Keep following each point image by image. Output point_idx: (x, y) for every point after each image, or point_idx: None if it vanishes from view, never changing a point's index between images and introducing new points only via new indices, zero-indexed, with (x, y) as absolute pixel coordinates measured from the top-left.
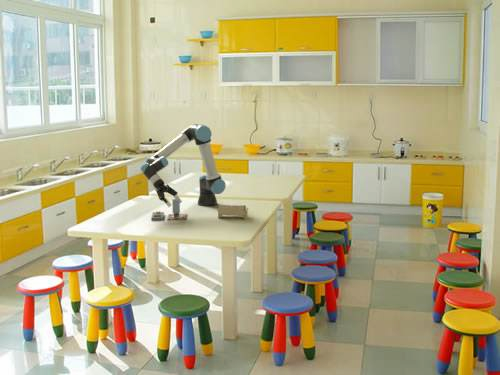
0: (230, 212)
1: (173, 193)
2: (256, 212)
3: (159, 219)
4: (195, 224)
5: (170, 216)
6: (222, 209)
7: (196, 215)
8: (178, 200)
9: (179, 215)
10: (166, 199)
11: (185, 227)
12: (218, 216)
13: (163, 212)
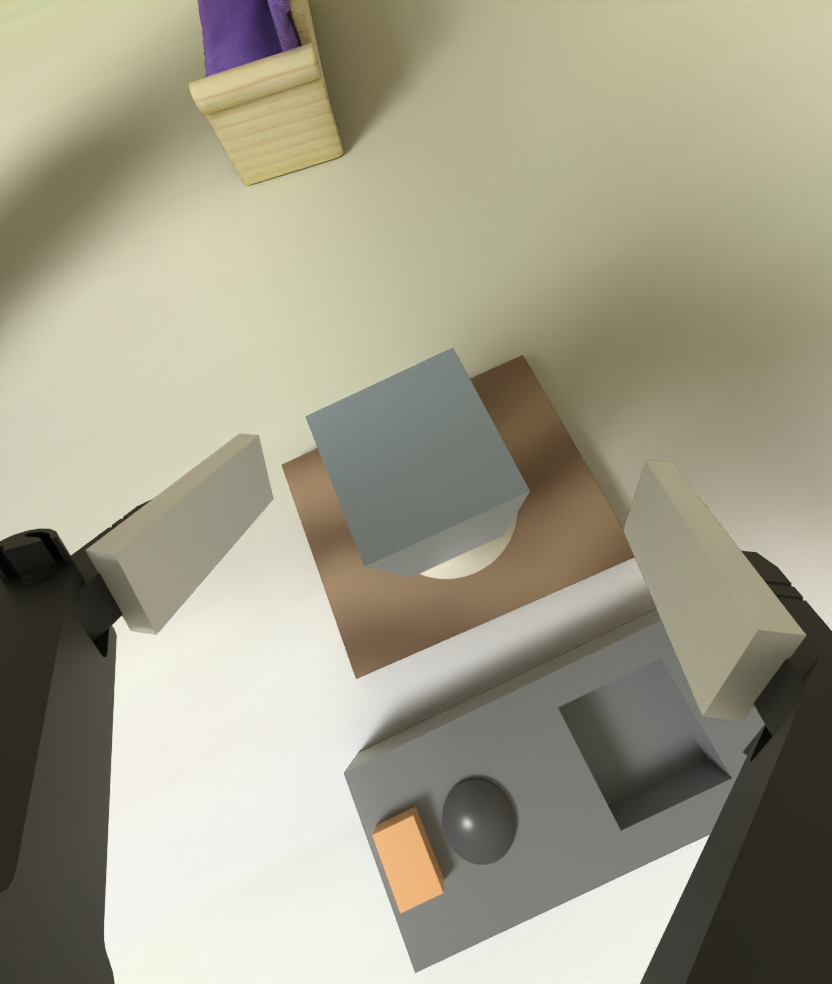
0: (306, 1)
1: (74, 646)
2: (78, 42)
3: None
4: (650, 205)
5: (474, 590)
6: (306, 13)
7: (264, 382)
8: (457, 364)
9: None
10: (759, 584)
11: (827, 221)
12: (338, 133)
13: (370, 767)
